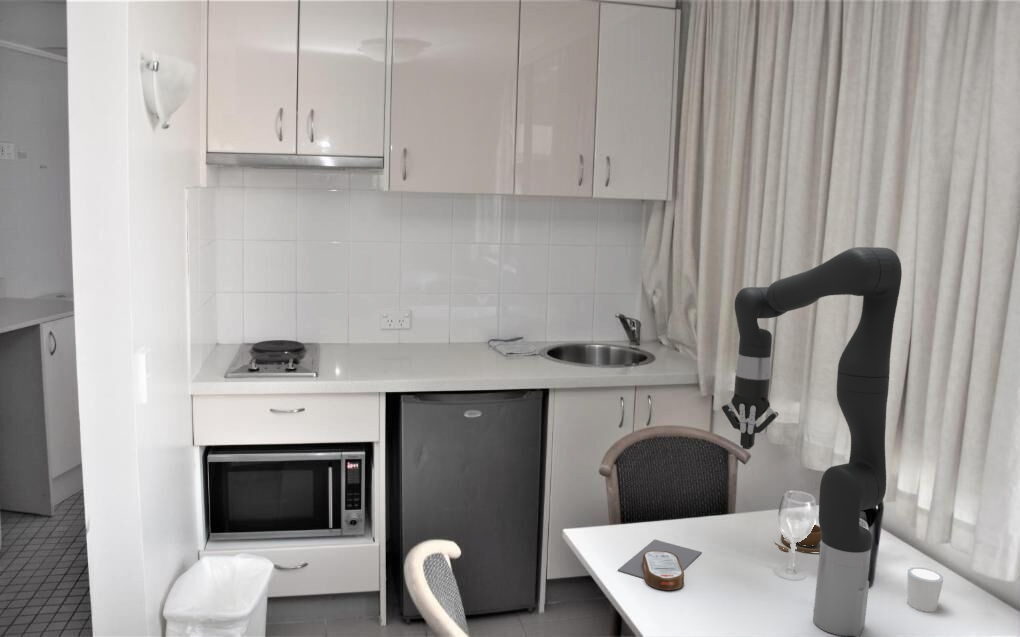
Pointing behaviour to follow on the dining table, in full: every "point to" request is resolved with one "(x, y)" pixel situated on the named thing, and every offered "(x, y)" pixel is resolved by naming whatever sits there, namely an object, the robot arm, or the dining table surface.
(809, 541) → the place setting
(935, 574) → the white cup
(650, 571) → the tin
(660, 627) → the dining table surface
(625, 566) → the mat
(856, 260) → the robot arm
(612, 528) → the dining table surface
